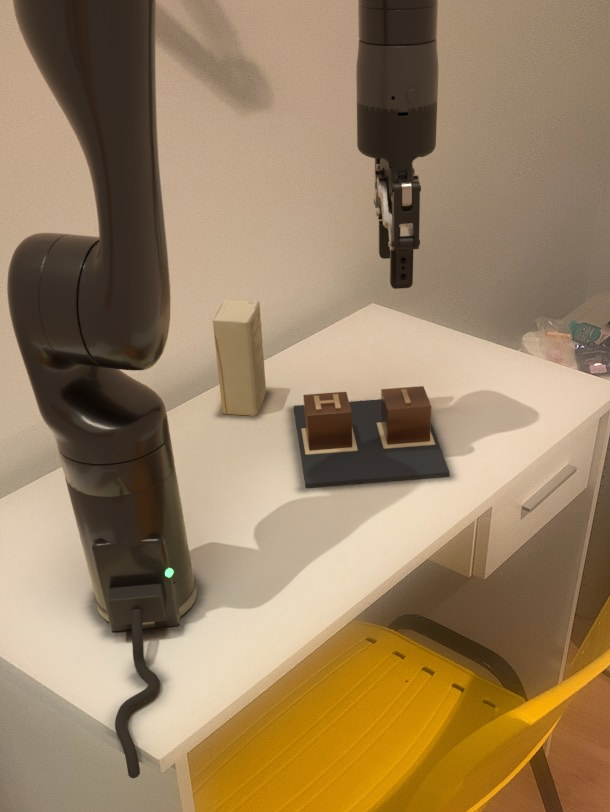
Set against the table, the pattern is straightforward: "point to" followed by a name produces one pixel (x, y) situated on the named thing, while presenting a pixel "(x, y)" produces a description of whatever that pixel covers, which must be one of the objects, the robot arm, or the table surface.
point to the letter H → (328, 420)
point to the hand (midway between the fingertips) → (395, 271)
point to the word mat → (368, 453)
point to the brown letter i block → (405, 415)
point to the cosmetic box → (240, 356)
